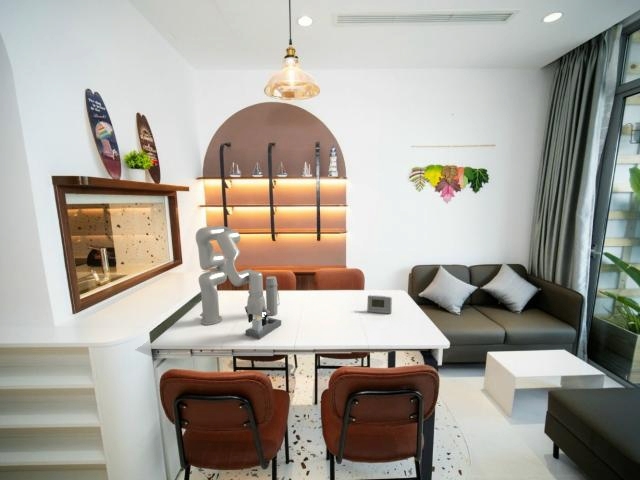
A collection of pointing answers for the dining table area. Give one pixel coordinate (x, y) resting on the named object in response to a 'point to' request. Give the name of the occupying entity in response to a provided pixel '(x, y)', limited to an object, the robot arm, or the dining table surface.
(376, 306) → the digital clock
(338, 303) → the dining table surface
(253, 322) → the plug
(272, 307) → the water bottle
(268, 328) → the panel
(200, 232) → the robot arm
